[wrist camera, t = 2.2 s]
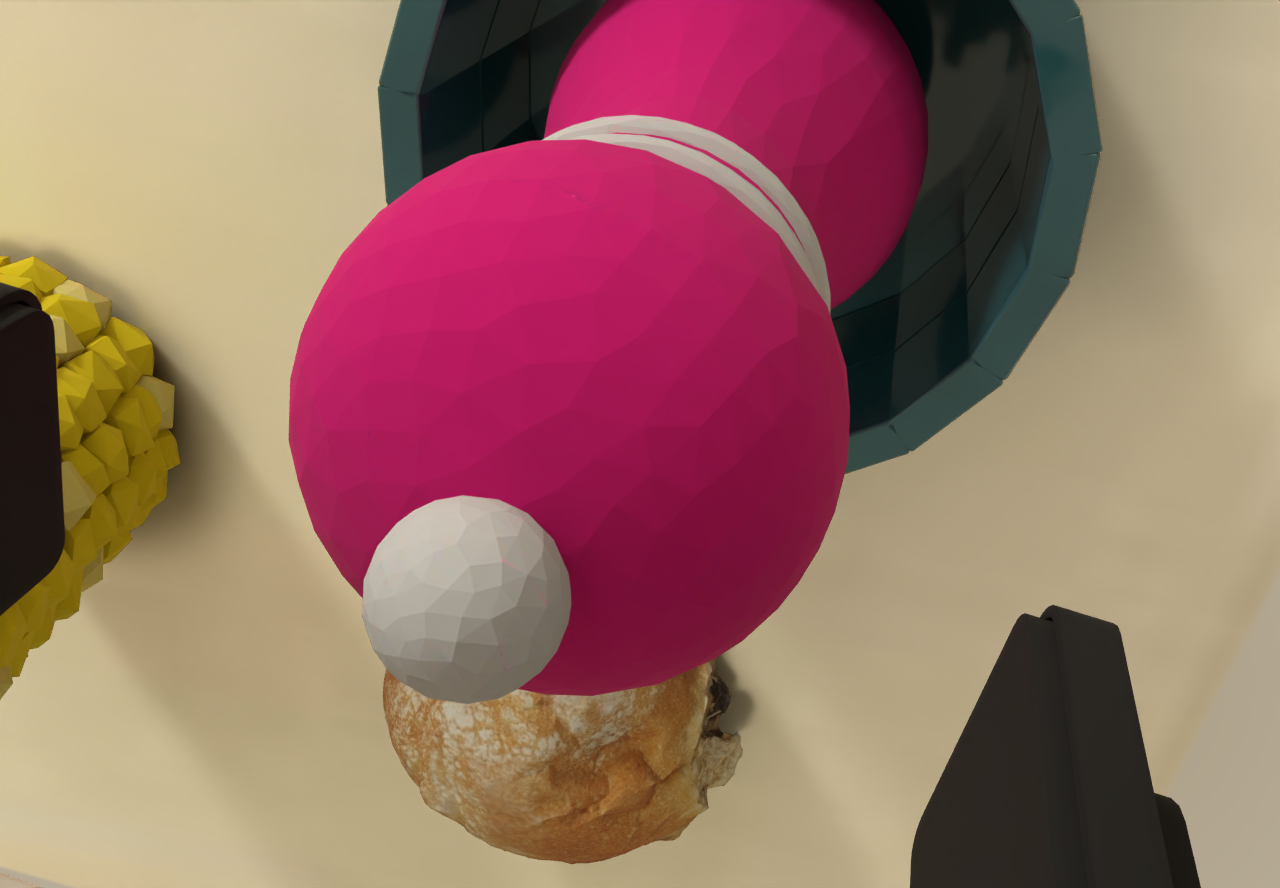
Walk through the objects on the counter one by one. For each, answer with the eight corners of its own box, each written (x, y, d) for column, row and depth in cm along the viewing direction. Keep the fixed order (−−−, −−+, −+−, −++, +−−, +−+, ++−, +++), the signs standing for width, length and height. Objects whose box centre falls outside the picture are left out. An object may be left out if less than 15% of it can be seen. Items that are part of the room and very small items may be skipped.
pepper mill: (546, 79, 27) (-121, 567, 10) (784, -161, 24) (372, -19, 7) (749, 308, 29) (462, 1057, 12) (1000, 114, 25) (1100, 781, 8)
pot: (546, -295, 24) (412, -321, 18) (1169, -142, 23) (1246, -115, 17) (467, 267, 31) (350, 384, 25) (948, 408, 29) (948, 566, 24)
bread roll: (623, 440, 36) (448, 491, 30) (837, 713, 34) (700, 836, 27) (456, 617, 41) (275, 696, 35) (632, 867, 39) (474, 1002, 32)
